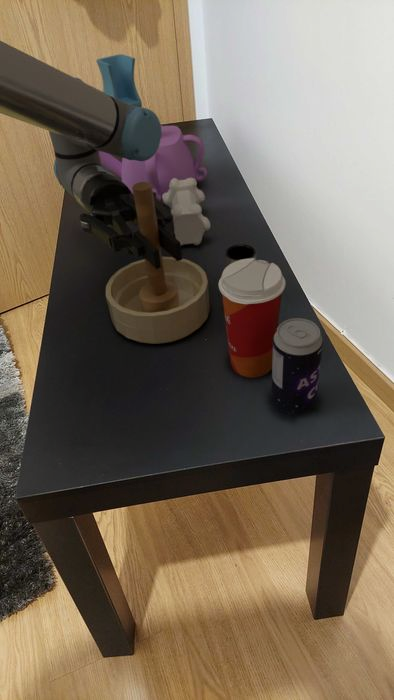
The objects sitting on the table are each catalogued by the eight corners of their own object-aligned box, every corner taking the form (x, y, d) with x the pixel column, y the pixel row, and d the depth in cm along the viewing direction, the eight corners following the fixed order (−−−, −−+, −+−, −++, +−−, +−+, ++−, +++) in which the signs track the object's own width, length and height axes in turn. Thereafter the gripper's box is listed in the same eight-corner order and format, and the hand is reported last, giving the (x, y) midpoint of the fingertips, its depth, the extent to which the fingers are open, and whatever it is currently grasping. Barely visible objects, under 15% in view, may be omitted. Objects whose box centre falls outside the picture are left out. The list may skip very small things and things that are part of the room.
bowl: (132, 360, 74) (125, 328, 70) (100, 304, 85) (93, 274, 81) (226, 325, 79) (225, 294, 75) (185, 276, 89) (182, 247, 85)
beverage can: (296, 426, 63) (302, 355, 55) (262, 402, 66) (263, 332, 58) (324, 401, 66) (334, 330, 58) (290, 379, 69) (295, 309, 61)
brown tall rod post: (150, 322, 78) (128, 200, 65) (136, 302, 82) (113, 183, 69) (185, 310, 80) (171, 188, 66) (170, 291, 84) (154, 172, 70)
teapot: (218, 188, 115) (215, 122, 105) (142, 221, 106) (130, 152, 96) (169, 165, 126) (162, 104, 117) (96, 193, 118) (82, 129, 108)
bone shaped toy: (164, 214, 107) (159, 177, 102) (205, 210, 108) (202, 172, 102) (166, 251, 96) (161, 211, 91) (212, 246, 96) (209, 206, 91)
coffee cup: (239, 337, 76) (237, 250, 66) (291, 353, 73) (296, 264, 63) (212, 372, 71) (204, 284, 61) (265, 392, 68) (267, 301, 58)
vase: (121, 146, 139) (107, 64, 125) (108, 139, 144) (93, 59, 130) (146, 139, 142) (135, 58, 128) (133, 131, 147) (121, 53, 133)
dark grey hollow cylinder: (223, 312, 81) (219, 256, 74) (234, 296, 84) (233, 241, 77) (249, 319, 79) (248, 262, 72) (260, 302, 82) (260, 247, 75)
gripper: (148, 202, 90) (218, 260, 74) (63, 230, 85) (120, 298, 69) (141, 160, 85) (215, 213, 69) (51, 187, 80) (109, 250, 64)
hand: (168, 255), depth 69 cm, fingers closed on brown tall rod post, 3 cm apart
